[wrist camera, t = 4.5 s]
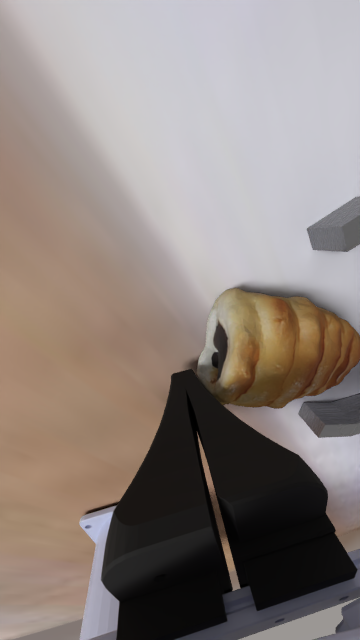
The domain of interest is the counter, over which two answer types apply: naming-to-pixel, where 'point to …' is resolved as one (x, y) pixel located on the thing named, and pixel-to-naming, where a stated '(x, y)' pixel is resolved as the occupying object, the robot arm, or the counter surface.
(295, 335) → the pastry
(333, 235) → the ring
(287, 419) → the counter surface
